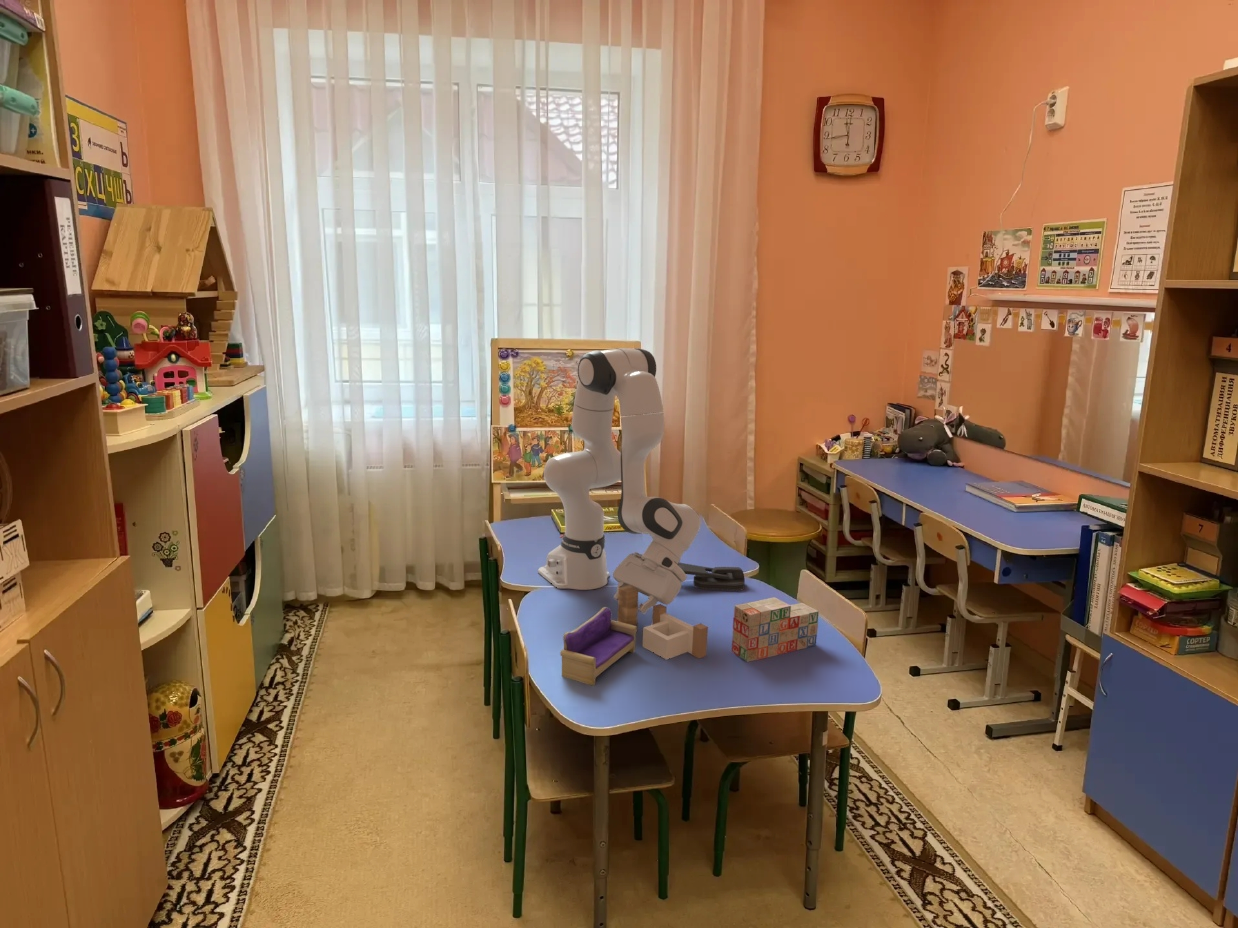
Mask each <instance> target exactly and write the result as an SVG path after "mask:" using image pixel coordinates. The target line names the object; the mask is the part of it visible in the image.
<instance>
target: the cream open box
mask: <svg viewBox="0 0 1238 928" xmlns="http://www.w3.org/2000/svg"><path fill="white" fill-rule="evenodd" d="M708 628H709V627H708V625H705V624H703V623H702V622H701V623H697V624H695V625H692V624H689V623H688V622H685V621H683V620H681V619H679V618H677V617H675V616H673V615H672V614H671V615H670V614H669V613H667V605H666V606H665V605H663V604H662V603H659V604H656V605H654V606H652V621H651V625H647V626H645V627H643V630H642V631H643V632H642V648H644V649H646V650H648V651H650V652H652V653H653V652H654V654H655V655H657V656H659V657H660V656H661V658H663V659H664V660H666V659H667V660H669V658H670V659H672V658H674V657H675V658H676V657H678V656H681V655H683V654H686V653H689V654H691V656H693V657H695V658H697V659H701V658H702V659H703V658H705V657H706V656H707V649H708V648H707V647H708V631H709V629H708Z"/></svg>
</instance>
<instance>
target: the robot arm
mask: <svg viewBox="0 0 1238 928" xmlns="http://www.w3.org/2000/svg"><path fill="white" fill-rule="evenodd" d="M656 374H657V363H656V359H655V357H654V356H653V354H652V353H651V352H650V351H648V350H646V349H643V348H638V347H636V348H628V347H627V348H623V347H619V348H613V349H604V350H592V351H589V352H587V353H585V354H583V355H582V356H581V358H580V360H579V362H578V366H577V376H578V382H577V386H576V389H575V394H574V402H573V409H572V417H571V430H572V432H573V434H574V435H575V436H576V437H577V438H578V439H580V440H582V441H583V443H584V445H583V446H584V447H583V450H580V451H571V452H570V451H569V452H564V453H560V454H558V455H555V456H553V457H550V458H548V460H547V461H546V463H545V465H544V467H543V478H544V481H545V483H546V485H547V487H548V488H549V489H550V490H551V491H553V492H554V493H555V494H556V495H557V497H559V499H560V500H561V503H562V505H563V509H564V525H565V526H564V527H565V528H564V533H560V534H559V539H561V538H562V539H561V542H560V544H559V545H558V546H556V547H555V548H554V549H553V550H552V549H551V551H549V552H548V554H547V556H546V562H545V563H546V564H545V565H543V566H540V567H539V568H538V570H537V573H538V574H539V575H540V576H542V577H543V578H544V579H545V580H546V581H548V582H549V583H550V584H551V583H552V584H551V585H552V586H553V587H555V588H556V587H557V588H556V589H572V590H578V591H579V590H582V591H583V590H585V591H586V590H594V589H595V590H596V589H599V588H603V587H604V586H606V585H607V584H608V581H609V580H608V578H609V576H610V572H609V570H608V568H607V553H606V550H605V543H606V538H605V534H604V525H605V512H604V509H603V507H602V506H601V505H600V503H598V502H596V501H594V500H592V499H591V495H590V489H597V488H603V487H609V486H611V485H614V484H616V483H618V482H620V484H621V485H620V486H621V487H620V488H621V489H620V490H621V492H620V493H621V495H620V499H619V503H618V507H617V515H616V516H617V520H618V523H619V525H620V527H621V528H622V529H623V530H624V531H625V532H626V533H628V534H631V535H632V534H633V535H640V534H645V535H649V536H651V538H652V539H651V541H650V544H649V545H648V546H647V548H646V549H645V551H643V553H642V554H641V553H639V552H636V551H635V552H632V553H630V554H628V556H626V557H625V558H624V559H623V560H622V561H621V562H620V563H619V564H618V565H617V567H616V568H615V569H614V571H613V572H612V577H613V579H615V581H616V582H617V587H616V593H615V594H614V595H613V599H614V600H615V601H617V602H618V593H619V588H622V587H626V586H631V587H634V588H636V589H638V593H640V594H641V595H644V596H646V597H648V598H647V599H648V600H647V601H646V602H644V603H642V602H641V603H640V604H639V606H638V609H637V611H638V612H640V613H642V614H643V615H645V614H646V613H647V611H648V610H650V609H651V608H653V606H655V605H657V603H658V602H659V603H660V604H662V605H663V604H664V606H665V605H666V606H667V605H670V604H671V603H672V602H673V601H674V600H675V599H676V597H677V595H678V594H679V592H680V590H681V589H682V584H683V583H684V582H685V581H686V580H687V579H688V574H685V573H684V571H683V570H682V569H681V568H680V566H679V565H678V563H681V559H682V557H683V554H684V553H685V552H687V550H688V549H689V548H690V547H691V545H692V544H693V542H694V540H695V539H696V537H697V536H698V533H699V531H700V529H701V525H702V518H701V517H700V515H699V513H698V512H697V511H696V510H695V508H693V507H691V506H690V505H688V504H686V503H674V502H671V501H669V500H667V499H665V498H662V497H659V496H648V495H647V494H646V485H645V484H646V482H645V481H646V480H645V478H646V477H645V463H646V460H647V457H648V455H649V454H650V453H651V452H652V451H653V450H654V449H655V448H656V447H658V445H659V444H660V443H661V441H662V440H663V438H664V436H665V435H664V434H665V416H664V408H663V405H664V404H663V402H662V401H663V400H662V396H661V391H660V388H659V384H658V381H657V379H656ZM616 396H617V397H616ZM616 398H617V399H618V401H619V414H620V415H619V416H620V427H621V445H620V446H621V448H620V451H619V449H618V448H616V446H615V444H614V441H613V435H612V434H613V433H612V431H613V430H612V429H613V428H612V427H613V417H614V408H615V400H616Z"/></svg>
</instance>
